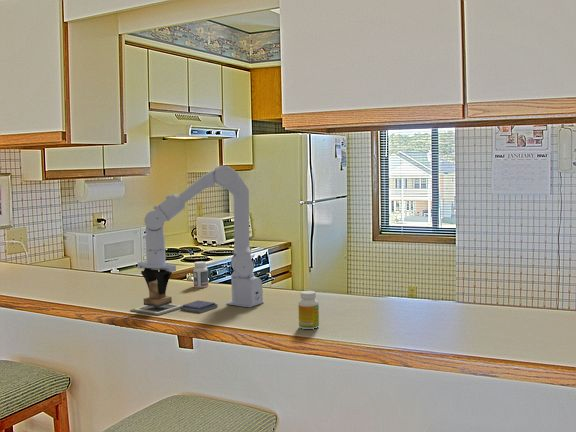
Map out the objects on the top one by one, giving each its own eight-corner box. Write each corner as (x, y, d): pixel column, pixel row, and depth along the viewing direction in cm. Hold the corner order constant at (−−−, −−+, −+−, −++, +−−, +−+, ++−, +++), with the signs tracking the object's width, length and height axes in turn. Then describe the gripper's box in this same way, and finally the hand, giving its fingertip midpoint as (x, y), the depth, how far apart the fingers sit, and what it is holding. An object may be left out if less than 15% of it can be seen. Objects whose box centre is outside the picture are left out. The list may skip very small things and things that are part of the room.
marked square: (185, 307, 198) (185, 305, 198) (158, 315, 188) (158, 313, 188) (158, 303, 204) (158, 301, 204) (130, 311, 194) (130, 309, 194)
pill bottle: (209, 285, 231) (209, 261, 230) (206, 288, 226) (205, 263, 225) (195, 285, 232) (194, 261, 231) (192, 288, 227) (191, 263, 226)
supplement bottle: (317, 330, 168) (316, 294, 167) (297, 330, 169) (296, 294, 168) (320, 325, 173) (319, 290, 172) (300, 324, 174) (299, 289, 173)
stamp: (171, 302, 197) (170, 280, 196) (157, 307, 192) (156, 284, 191) (157, 300, 200) (156, 279, 199) (143, 304, 195) (142, 282, 194)
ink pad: (217, 307, 196) (217, 302, 196) (200, 313, 190) (200, 308, 190) (198, 304, 201) (197, 299, 201) (180, 310, 194) (180, 305, 194)
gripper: (129, 249, 195) (131, 293, 196) (163, 252, 187) (165, 298, 188) (146, 246, 201) (148, 288, 202) (180, 249, 193) (181, 293, 194)
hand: (157, 293), depth 195 cm, fingers closed on stamp, 3 cm apart
